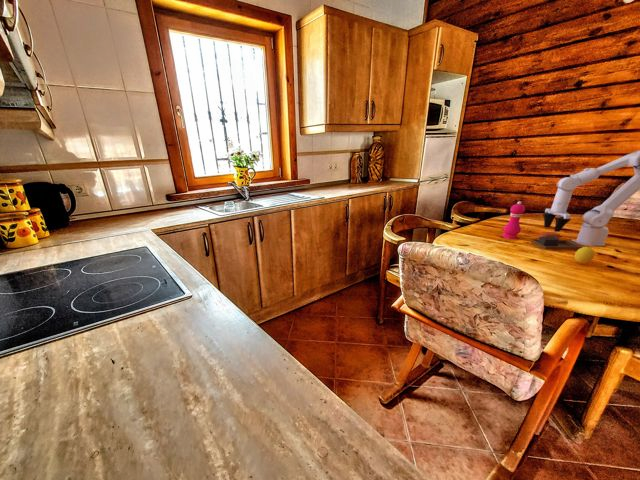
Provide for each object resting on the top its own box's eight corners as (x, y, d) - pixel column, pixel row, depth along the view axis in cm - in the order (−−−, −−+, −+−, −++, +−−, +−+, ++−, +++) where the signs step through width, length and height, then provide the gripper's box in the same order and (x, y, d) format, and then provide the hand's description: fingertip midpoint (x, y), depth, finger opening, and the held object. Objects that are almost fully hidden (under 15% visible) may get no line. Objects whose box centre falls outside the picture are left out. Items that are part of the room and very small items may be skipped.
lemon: (582, 261, 119) (589, 244, 116) (593, 267, 114) (601, 249, 111) (567, 262, 120) (574, 244, 117) (578, 267, 115) (586, 249, 111)
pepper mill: (518, 240, 146) (529, 202, 138) (501, 239, 150) (511, 202, 142) (517, 236, 152) (527, 200, 144) (501, 235, 156) (510, 199, 148)
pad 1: (551, 239, 146) (554, 232, 144) (557, 242, 142) (560, 234, 140) (538, 239, 147) (541, 232, 146) (544, 241, 143) (546, 234, 141)
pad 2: (550, 244, 138) (553, 236, 136) (556, 247, 134) (559, 239, 132) (536, 244, 139) (539, 236, 137) (542, 247, 135) (545, 239, 133)
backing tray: (565, 243, 139) (566, 239, 138) (581, 250, 130) (582, 246, 129) (531, 243, 142) (532, 239, 141) (544, 250, 133) (545, 246, 132)
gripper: (542, 200, 144) (534, 225, 149) (562, 205, 131) (552, 233, 136) (557, 199, 143) (549, 225, 148) (579, 205, 130) (569, 233, 135)
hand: (551, 229), depth 142 cm, fingers open, 7 cm apart
